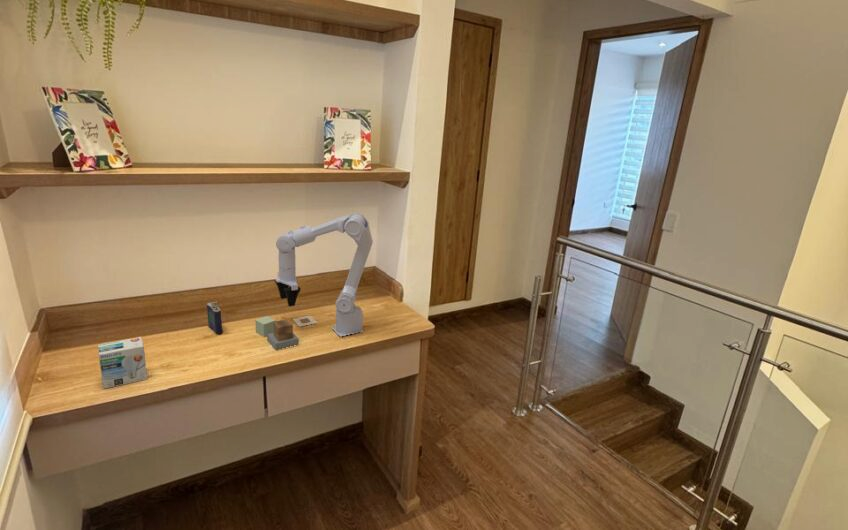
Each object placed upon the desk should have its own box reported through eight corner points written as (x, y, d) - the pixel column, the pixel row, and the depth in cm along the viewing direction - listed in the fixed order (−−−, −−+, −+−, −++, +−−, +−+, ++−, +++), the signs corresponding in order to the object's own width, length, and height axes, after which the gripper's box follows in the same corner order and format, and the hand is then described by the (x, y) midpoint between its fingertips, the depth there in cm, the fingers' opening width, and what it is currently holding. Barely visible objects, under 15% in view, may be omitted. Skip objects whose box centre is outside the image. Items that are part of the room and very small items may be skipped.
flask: (207, 325, 163) (205, 298, 160) (215, 323, 165) (213, 296, 162) (216, 335, 157) (214, 307, 153) (225, 333, 159) (223, 305, 155)
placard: (309, 316, 177) (309, 315, 177) (317, 323, 172) (317, 322, 172) (292, 319, 173) (292, 318, 173) (299, 327, 168) (299, 325, 168)
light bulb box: (103, 389, 124) (97, 355, 120) (102, 377, 129) (96, 344, 125) (148, 379, 130) (144, 346, 127) (145, 368, 135) (141, 336, 132)
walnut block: (288, 332, 158) (287, 319, 157) (292, 338, 154) (292, 324, 153) (273, 334, 155) (273, 321, 154) (278, 341, 152) (277, 327, 150)
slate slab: (289, 336, 161) (289, 329, 160) (298, 346, 155) (298, 338, 154) (267, 341, 157) (267, 334, 156) (275, 351, 151) (275, 343, 150)
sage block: (268, 328, 165) (267, 315, 164) (276, 332, 162) (275, 320, 161) (255, 332, 161) (255, 319, 160) (263, 337, 159) (263, 324, 157)
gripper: (269, 262, 163) (270, 296, 168) (283, 274, 152) (284, 311, 157) (288, 259, 167) (288, 293, 172) (303, 271, 157) (303, 307, 161)
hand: (287, 301), depth 164 cm, fingers open, 7 cm apart
